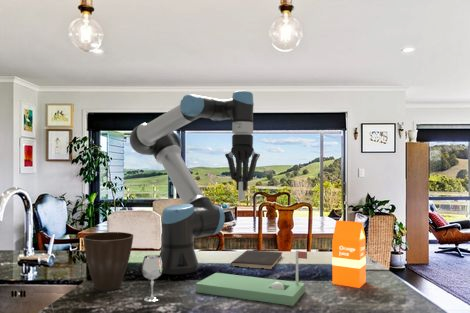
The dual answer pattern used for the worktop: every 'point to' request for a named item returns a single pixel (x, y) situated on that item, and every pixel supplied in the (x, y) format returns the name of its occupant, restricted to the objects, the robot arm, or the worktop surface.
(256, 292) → the putting deck
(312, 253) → the worktop surface
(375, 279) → the worktop surface
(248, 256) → the hardcover book
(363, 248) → the orange juice
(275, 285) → the ball
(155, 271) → the wineglass
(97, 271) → the plant pot
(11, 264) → the worktop surface
